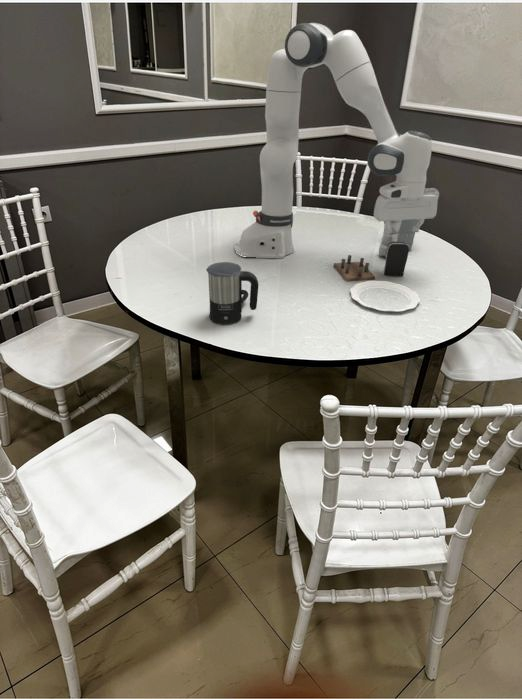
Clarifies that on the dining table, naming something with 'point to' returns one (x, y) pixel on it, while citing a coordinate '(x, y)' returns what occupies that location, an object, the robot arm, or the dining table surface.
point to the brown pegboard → (354, 270)
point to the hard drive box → (407, 232)
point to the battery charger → (396, 258)
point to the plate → (387, 285)
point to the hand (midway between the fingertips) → (401, 232)
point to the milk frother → (229, 292)
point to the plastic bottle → (389, 236)
